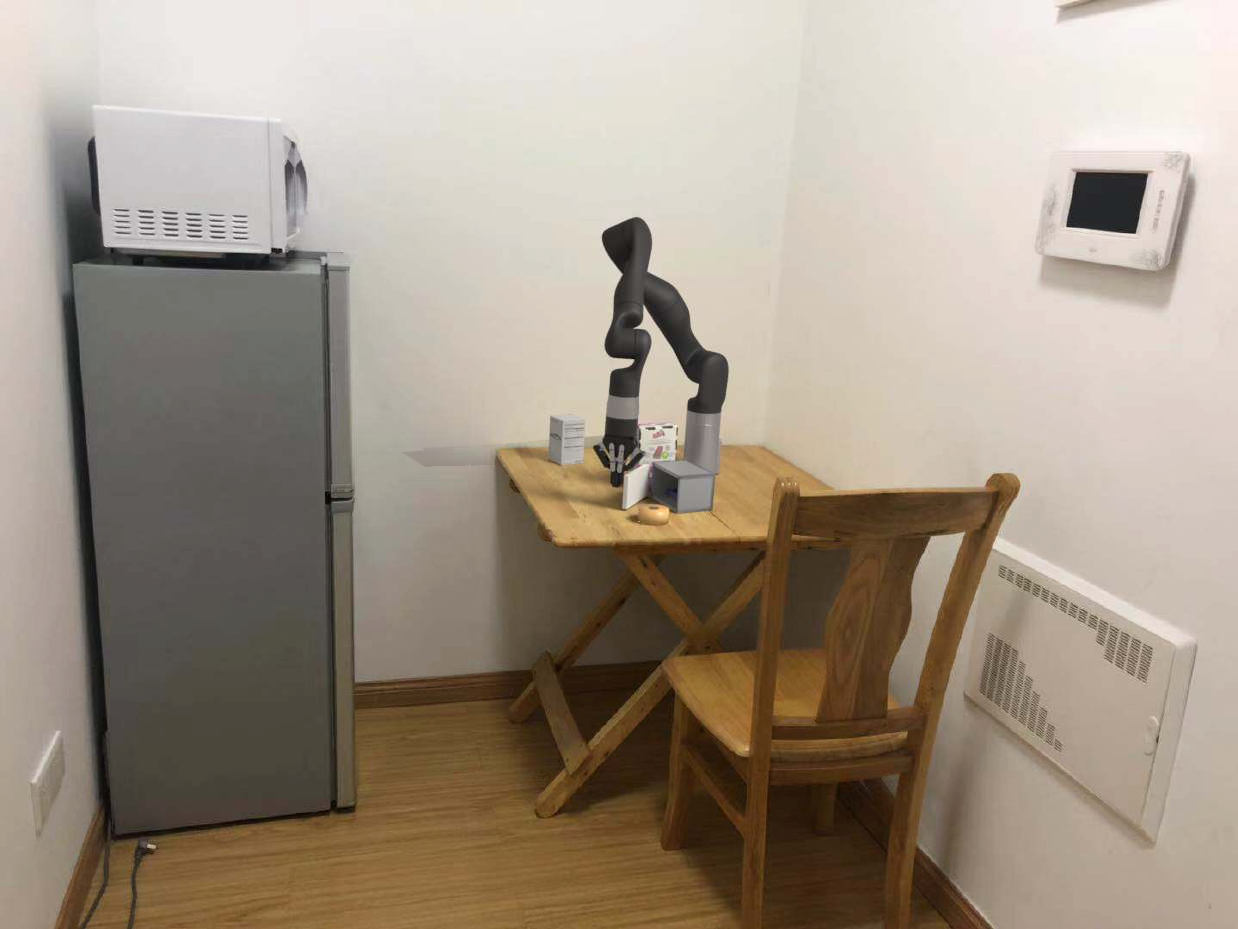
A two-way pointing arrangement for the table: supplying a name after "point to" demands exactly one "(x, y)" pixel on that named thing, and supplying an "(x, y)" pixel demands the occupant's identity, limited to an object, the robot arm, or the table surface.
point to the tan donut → (653, 514)
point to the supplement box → (566, 439)
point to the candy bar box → (656, 443)
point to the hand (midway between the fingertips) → (616, 486)
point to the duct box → (682, 486)
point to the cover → (636, 485)
